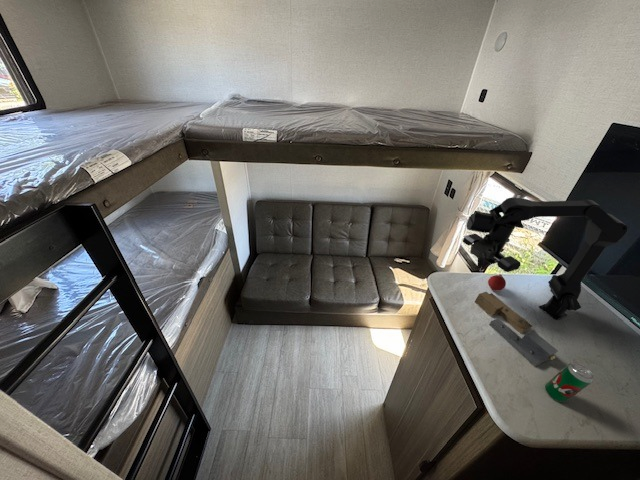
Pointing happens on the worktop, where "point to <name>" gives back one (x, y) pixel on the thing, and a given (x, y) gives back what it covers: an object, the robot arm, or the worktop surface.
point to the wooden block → (502, 311)
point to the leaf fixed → (526, 343)
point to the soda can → (569, 382)
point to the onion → (497, 282)
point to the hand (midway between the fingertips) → (480, 269)
